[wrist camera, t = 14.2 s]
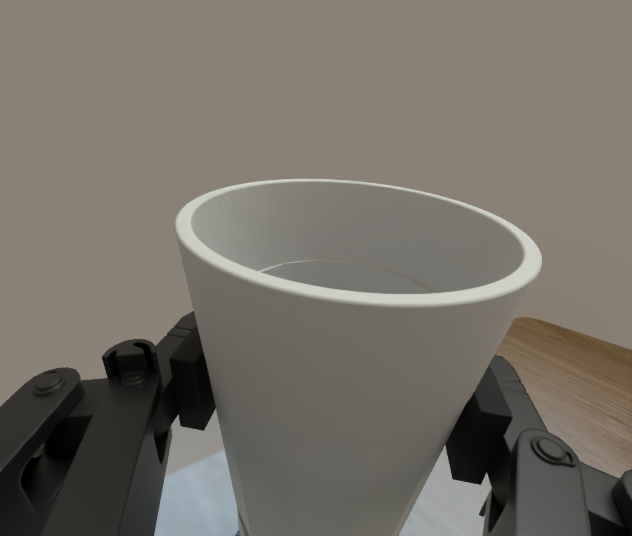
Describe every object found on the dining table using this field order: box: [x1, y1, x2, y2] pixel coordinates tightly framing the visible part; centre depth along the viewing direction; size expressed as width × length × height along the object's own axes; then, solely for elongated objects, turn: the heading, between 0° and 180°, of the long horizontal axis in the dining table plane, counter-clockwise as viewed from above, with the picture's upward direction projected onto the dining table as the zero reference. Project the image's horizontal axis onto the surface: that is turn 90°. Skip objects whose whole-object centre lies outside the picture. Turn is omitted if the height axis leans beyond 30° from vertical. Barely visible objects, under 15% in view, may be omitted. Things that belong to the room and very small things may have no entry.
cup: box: [175, 179, 542, 536], centre depth 11 cm, size 8×8×12 cm
